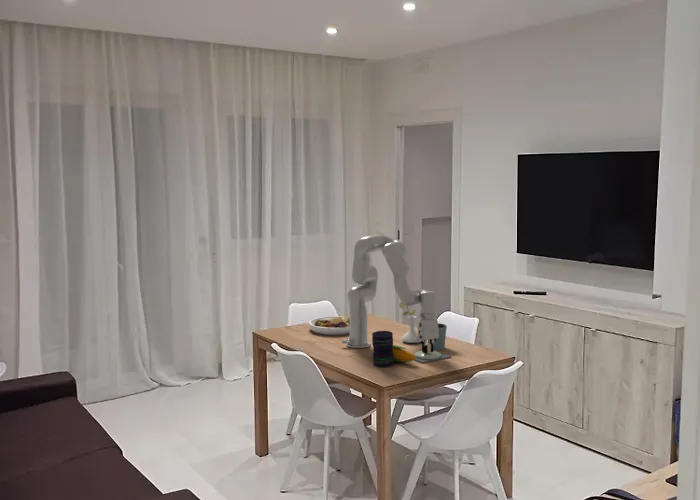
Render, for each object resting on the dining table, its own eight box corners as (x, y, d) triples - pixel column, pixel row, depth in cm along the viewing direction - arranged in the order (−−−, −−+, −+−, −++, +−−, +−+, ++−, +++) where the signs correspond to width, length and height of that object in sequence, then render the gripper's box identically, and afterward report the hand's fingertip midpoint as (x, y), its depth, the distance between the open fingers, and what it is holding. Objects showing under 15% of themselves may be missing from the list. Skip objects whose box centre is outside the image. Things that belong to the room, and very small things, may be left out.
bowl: (302, 327, 394) (302, 314, 393) (348, 322, 406) (348, 309, 405) (319, 338, 367) (319, 325, 366) (369, 333, 378) (369, 319, 378)
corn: (385, 341, 328) (420, 348, 317) (384, 357, 329) (419, 363, 317) (377, 343, 322) (412, 350, 311) (376, 359, 323) (411, 366, 311)
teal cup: (429, 344, 352) (429, 322, 350) (448, 346, 348) (448, 323, 347) (425, 349, 342) (425, 326, 341) (444, 351, 339) (444, 328, 337)
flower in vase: (416, 338, 365) (417, 293, 362) (426, 343, 354) (426, 297, 351) (395, 340, 360) (395, 295, 357) (403, 345, 350) (404, 299, 347)
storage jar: (398, 363, 316) (397, 333, 313) (383, 369, 309) (382, 338, 306) (383, 359, 323) (382, 329, 320) (368, 364, 316) (367, 334, 314)
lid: (425, 361, 319) (425, 348, 318) (409, 354, 330) (409, 343, 329) (446, 356, 326) (446, 345, 325) (429, 351, 337) (429, 339, 336)
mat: (422, 363, 317) (422, 362, 317) (404, 356, 329) (404, 355, 329) (451, 357, 327) (451, 356, 327) (432, 351, 339) (432, 350, 339)
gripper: (419, 319, 318) (419, 356, 320) (445, 315, 327) (445, 351, 329) (410, 316, 324) (409, 353, 326) (435, 312, 333) (435, 348, 335)
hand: (427, 352), depth 328 cm, fingers closed on lid, 3 cm apart
